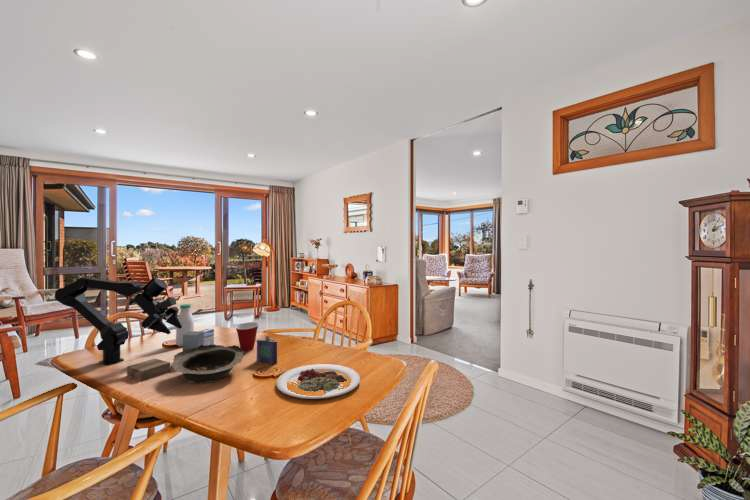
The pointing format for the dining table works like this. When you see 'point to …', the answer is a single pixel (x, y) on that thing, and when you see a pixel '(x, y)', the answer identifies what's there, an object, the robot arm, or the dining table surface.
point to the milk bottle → (184, 323)
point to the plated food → (318, 380)
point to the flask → (267, 350)
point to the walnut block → (148, 369)
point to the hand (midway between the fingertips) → (175, 330)
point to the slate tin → (193, 340)
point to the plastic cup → (247, 335)
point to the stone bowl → (207, 362)
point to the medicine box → (208, 336)
